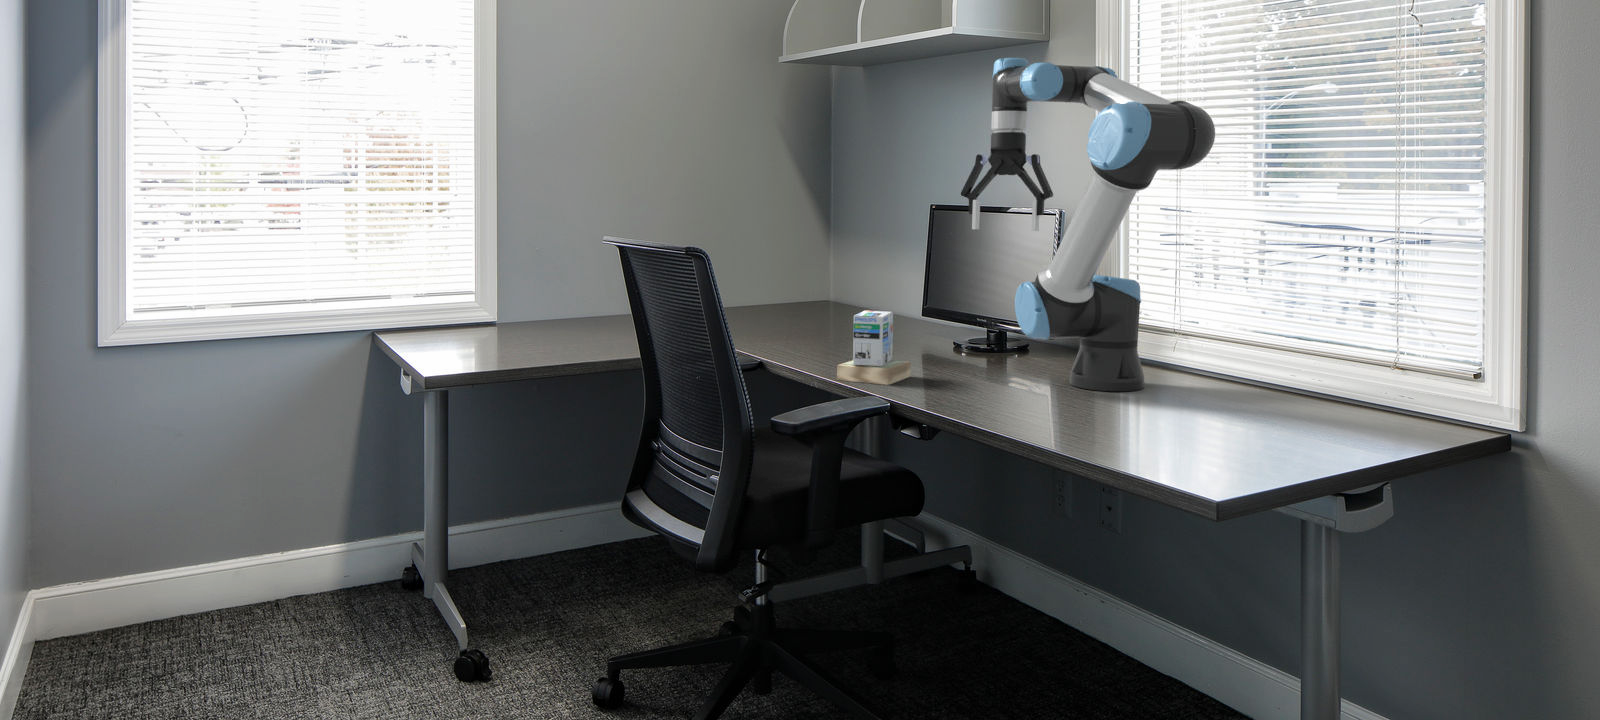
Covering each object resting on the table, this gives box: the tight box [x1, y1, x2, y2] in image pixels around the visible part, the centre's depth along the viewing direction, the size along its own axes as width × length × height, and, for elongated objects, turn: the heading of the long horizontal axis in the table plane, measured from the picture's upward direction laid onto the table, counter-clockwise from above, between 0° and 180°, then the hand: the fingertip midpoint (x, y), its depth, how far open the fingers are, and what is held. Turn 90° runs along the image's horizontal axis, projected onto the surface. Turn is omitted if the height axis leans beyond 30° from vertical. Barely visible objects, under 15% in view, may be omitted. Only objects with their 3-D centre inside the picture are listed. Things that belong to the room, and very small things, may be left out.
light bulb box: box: [852, 309, 894, 366], centre depth 241 cm, size 11×7×11 cm, turn 164°
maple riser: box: [836, 359, 912, 386], centre depth 242 cm, size 12×12×3 cm
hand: (1004, 230), depth 247 cm, fingers open, 13 cm apart
